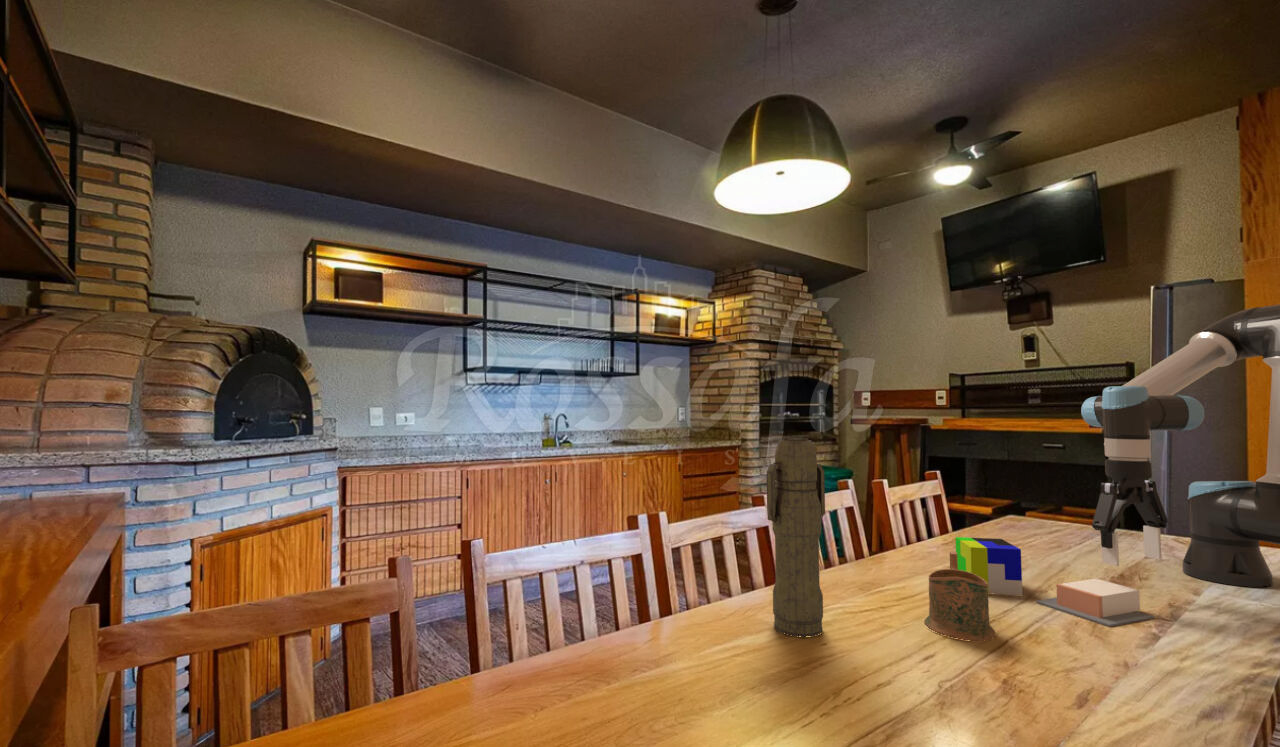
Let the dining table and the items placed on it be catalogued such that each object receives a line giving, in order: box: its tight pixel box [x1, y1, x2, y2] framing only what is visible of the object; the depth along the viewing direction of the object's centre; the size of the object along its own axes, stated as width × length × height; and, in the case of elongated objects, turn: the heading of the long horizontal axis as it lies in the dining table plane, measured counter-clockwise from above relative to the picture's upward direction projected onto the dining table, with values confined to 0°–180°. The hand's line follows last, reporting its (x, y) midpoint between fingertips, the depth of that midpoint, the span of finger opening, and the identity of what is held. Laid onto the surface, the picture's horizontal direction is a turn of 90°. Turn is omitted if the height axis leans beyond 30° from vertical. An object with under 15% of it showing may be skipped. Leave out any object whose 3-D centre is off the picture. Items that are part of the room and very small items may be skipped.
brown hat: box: [923, 550, 997, 642], centre depth 110 cm, size 12×18×12 cm, turn 155°
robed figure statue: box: [766, 437, 826, 638], centre depth 108 cm, size 9×12×35 cm
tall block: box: [1056, 578, 1141, 618], centre depth 117 cm, size 4×8×12 cm
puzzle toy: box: [955, 536, 1023, 596], centre depth 131 cm, size 10×10×10 cm
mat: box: [1035, 596, 1155, 628], centre depth 116 cm, size 13×14×1 cm
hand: (1132, 561), depth 121 cm, fingers open, 13 cm apart
